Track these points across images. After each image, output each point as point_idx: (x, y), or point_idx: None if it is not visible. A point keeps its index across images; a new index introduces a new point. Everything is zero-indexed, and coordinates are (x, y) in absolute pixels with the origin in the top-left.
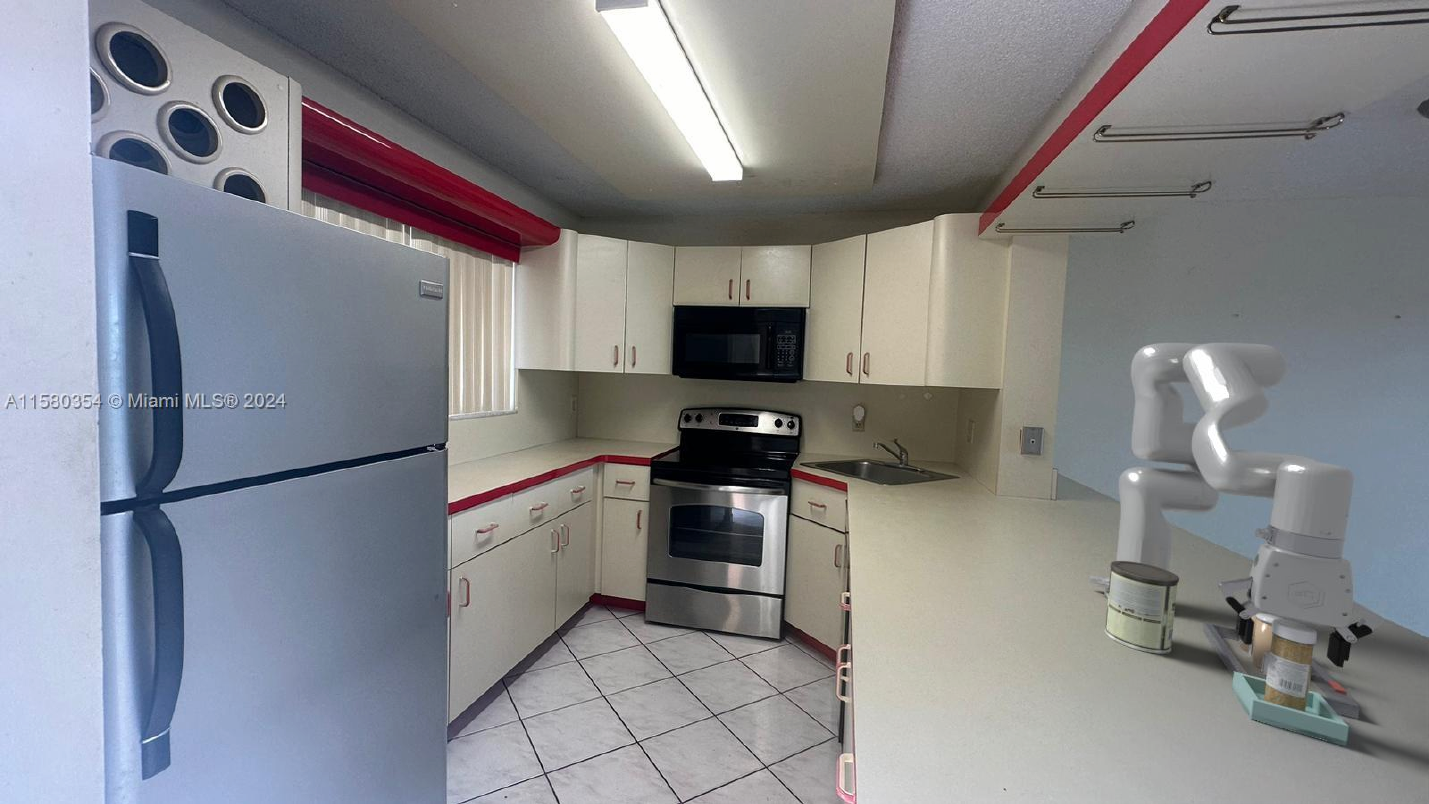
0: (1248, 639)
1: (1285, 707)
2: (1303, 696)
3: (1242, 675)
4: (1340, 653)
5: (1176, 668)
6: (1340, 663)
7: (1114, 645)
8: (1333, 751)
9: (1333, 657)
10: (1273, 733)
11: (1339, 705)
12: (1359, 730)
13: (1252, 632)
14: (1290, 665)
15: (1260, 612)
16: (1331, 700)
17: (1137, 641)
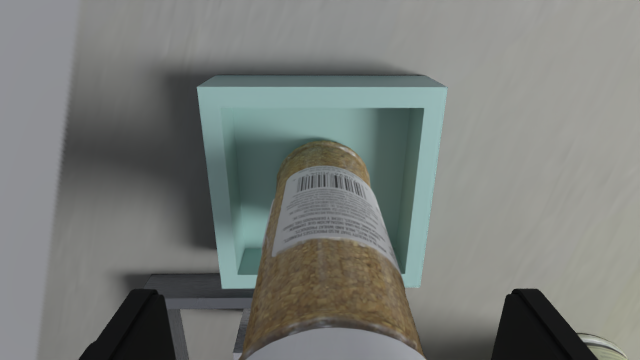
0: (544, 307)
1: (354, 102)
2: (291, 178)
3: (404, 274)
4: (112, 348)
5: (513, 285)
6: (137, 298)
7: (637, 324)
8: (255, 15)
9: (156, 341)
10: (391, 17)
11: (179, 290)
12: (160, 213)
13: (558, 351)
14: (348, 226)
15: None
16: (193, 296)
17: (597, 355)
